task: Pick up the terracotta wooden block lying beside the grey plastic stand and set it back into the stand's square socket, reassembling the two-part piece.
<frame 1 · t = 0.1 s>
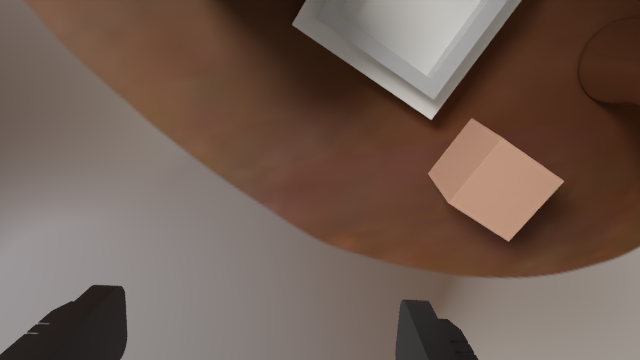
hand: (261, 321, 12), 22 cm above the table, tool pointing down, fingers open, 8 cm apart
beer glass: (617, 61, 31), on the table
terracotta block: (475, 164, 34), on the table
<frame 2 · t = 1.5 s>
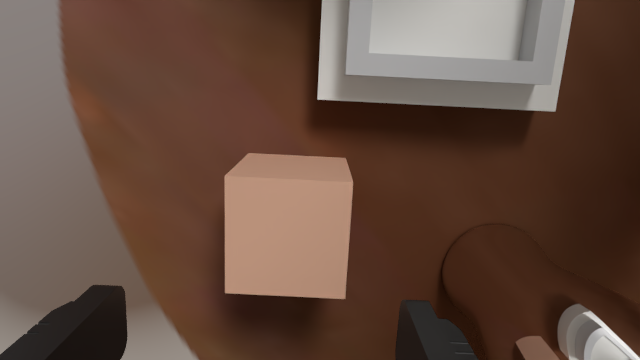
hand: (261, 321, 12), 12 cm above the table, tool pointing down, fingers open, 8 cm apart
beer glass: (490, 269, 25), on the table
terracotta block: (295, 202, 24), on the table
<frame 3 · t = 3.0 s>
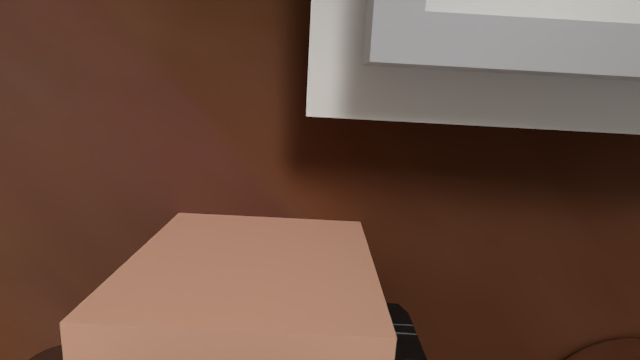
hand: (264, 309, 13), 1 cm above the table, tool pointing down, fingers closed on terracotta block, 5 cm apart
terracotta block: (267, 299, 13), on the table, touching gripper
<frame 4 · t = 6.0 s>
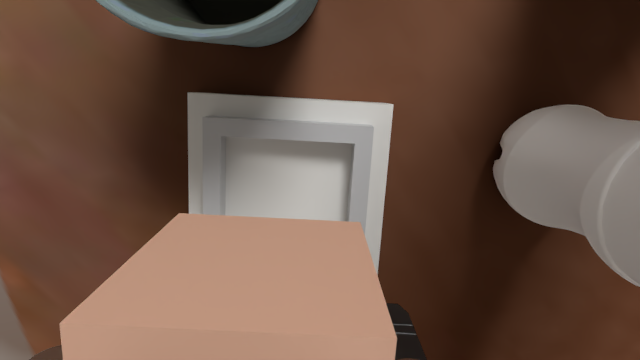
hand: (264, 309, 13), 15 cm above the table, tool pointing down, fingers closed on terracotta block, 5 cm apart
grey stand: (288, 190, 28), on the table
water bottle: (533, 157, 28), on the table
terracotta block: (267, 300, 13), point 15 cm above the table, touching gripper
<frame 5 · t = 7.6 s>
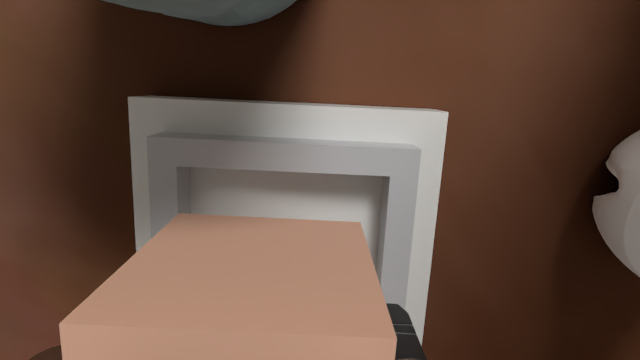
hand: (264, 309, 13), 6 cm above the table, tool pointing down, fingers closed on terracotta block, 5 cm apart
grey stand: (287, 236, 19), on the table
terracotta block: (267, 300, 13), point 6 cm above the table, touching gripper
when the fingers open (5 cm above the table, at t = 8.8 s): terracotta block drops 2 cm, resting on grey stand.
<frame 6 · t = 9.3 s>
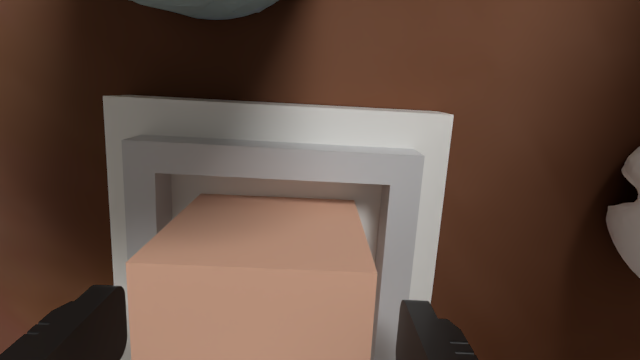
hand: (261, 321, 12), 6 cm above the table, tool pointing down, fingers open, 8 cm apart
grey stand: (279, 248, 18), on the table
terracotta block: (275, 268, 16), point 2 cm above the table, touching grey stand
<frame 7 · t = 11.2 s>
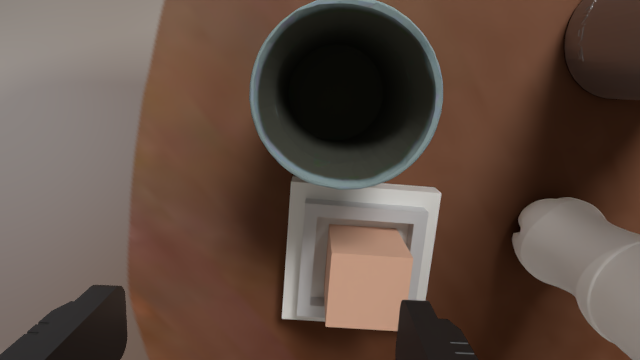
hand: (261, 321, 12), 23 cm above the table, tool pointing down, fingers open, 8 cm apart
grey stand: (356, 248, 36), on the table
water bottle: (542, 228, 36), on the table
terracotta block: (359, 257, 34), point 2 cm above the table, touching grey stand
teal cup: (335, 94, 34), on the table
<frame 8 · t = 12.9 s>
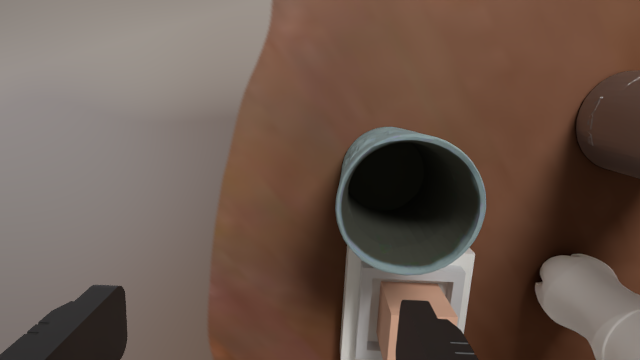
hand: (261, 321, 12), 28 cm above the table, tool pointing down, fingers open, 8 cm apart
grey stand: (401, 298, 43), on the table
water bottle: (560, 277, 43), on the table
terracotta block: (406, 308, 41), point 2 cm above the table, touching grey stand
teal cup: (383, 172, 40), on the table
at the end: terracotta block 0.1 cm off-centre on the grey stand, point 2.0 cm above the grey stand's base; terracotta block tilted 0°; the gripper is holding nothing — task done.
